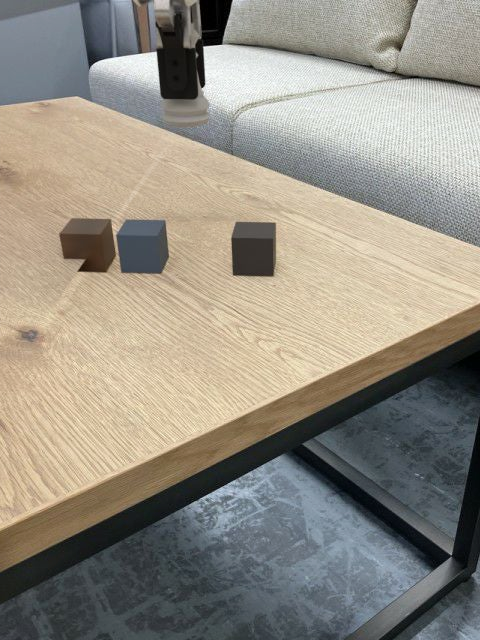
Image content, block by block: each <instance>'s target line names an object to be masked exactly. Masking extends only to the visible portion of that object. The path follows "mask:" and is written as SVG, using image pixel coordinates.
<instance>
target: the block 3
mask: <svg viewBox="0 0 480 640" xmlns="http://www.w3.org/2000/svg"><path fill="white" fill-rule="evenodd" d="M234 223H235V224H234V226H233V229H232V233H231V237H230V243H231V265H232V266H231V267H232V276H233V277H236V276H237V277H238V276H239V277H274V276H275V269H276V262H277V222H272V221H271V222H269V221H268V222H267V221H235V222H234Z"/></svg>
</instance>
